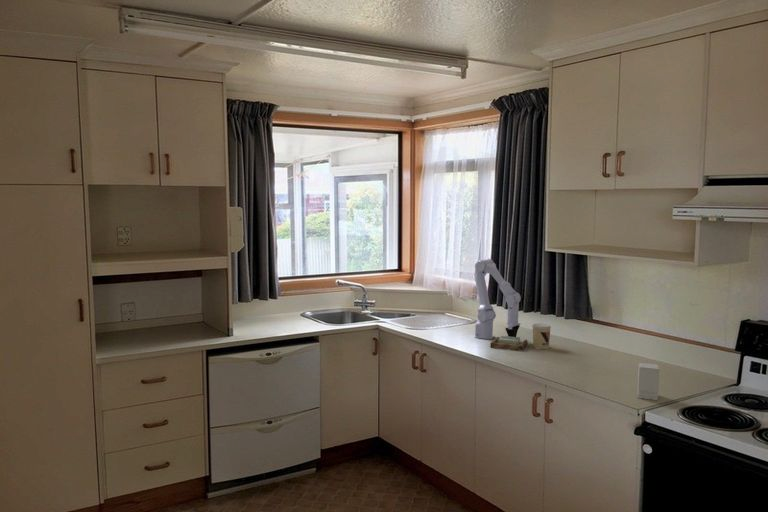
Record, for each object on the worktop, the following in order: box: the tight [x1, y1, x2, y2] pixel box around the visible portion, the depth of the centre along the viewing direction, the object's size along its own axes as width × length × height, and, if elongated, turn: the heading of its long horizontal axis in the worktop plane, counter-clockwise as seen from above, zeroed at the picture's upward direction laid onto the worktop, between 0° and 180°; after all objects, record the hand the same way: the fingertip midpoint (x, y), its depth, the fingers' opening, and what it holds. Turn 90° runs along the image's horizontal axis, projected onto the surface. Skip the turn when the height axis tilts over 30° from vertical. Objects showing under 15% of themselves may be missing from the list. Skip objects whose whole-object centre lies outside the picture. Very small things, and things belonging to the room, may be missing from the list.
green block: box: [498, 335, 521, 345], centre depth 322 cm, size 10×8×4 cm
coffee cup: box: [532, 323, 552, 350], centre depth 320 cm, size 9×9×12 cm
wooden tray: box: [489, 336, 528, 351], centre depth 323 cm, size 16×15×2 cm
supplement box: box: [636, 362, 660, 401], centre depth 241 cm, size 7×7×13 cm
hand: (512, 339), depth 330 cm, fingers open, 7 cm apart
